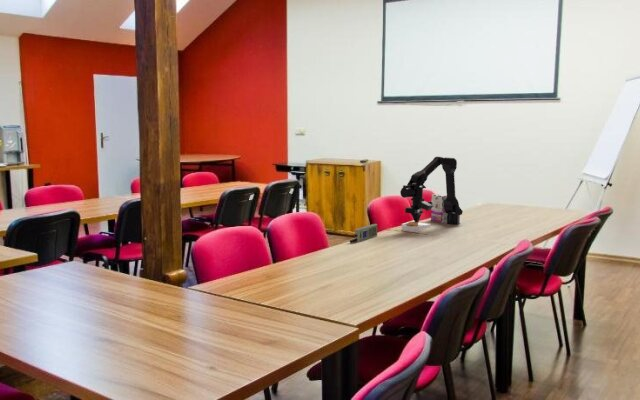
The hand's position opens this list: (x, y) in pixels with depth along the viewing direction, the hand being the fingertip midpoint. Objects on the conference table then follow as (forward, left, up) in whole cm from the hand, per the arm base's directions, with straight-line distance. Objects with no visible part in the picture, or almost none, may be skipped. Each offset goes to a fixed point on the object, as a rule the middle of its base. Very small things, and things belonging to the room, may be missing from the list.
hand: (416, 223), depth 333 cm
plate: (0, -13, -3) cm, 14 cm away
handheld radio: (+9, +43, -4) cm, 44 cm away
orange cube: (0, +3, -1) cm, 3 cm away
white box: (0, 0, -3) cm, 3 cm away
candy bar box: (0, -30, -3) cm, 30 cm away
